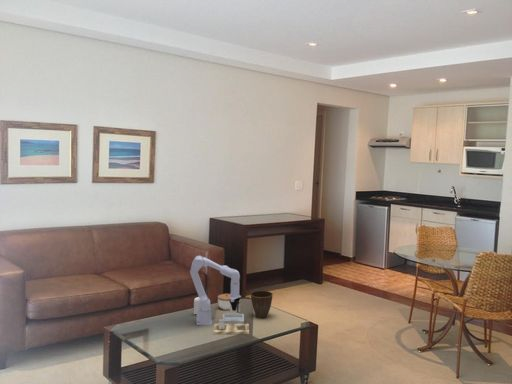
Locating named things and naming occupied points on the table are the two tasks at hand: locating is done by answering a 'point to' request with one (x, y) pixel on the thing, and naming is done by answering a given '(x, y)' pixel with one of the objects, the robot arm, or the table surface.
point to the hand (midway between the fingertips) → (234, 309)
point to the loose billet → (236, 308)
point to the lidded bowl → (224, 301)
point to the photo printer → (197, 305)
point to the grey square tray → (233, 318)
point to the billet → (221, 324)
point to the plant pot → (261, 303)
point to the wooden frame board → (231, 329)
